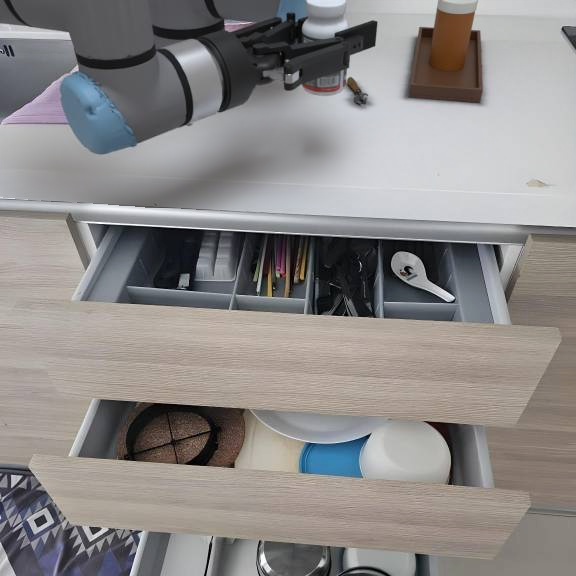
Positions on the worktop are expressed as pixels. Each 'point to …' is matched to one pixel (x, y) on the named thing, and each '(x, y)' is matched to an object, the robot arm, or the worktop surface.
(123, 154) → the worktop surface
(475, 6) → the amber bottle middle
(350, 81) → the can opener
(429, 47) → the tray
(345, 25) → the pill bottle
